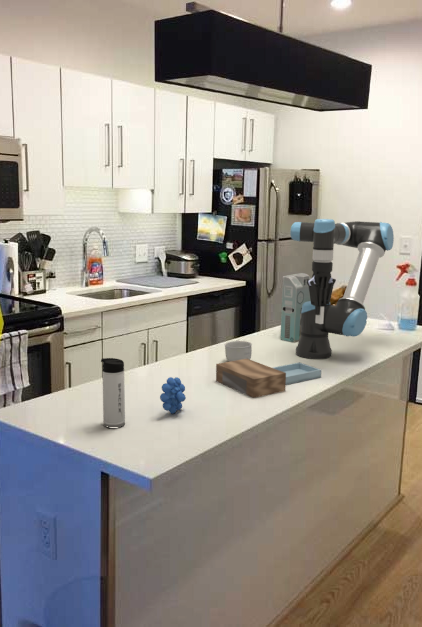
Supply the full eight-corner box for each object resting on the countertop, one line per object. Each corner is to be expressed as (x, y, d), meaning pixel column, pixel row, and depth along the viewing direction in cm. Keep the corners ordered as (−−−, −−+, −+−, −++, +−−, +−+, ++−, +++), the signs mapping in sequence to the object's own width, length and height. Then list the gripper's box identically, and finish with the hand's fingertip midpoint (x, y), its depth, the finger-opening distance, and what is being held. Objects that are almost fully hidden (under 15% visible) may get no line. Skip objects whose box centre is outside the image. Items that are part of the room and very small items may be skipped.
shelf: (246, 375, 234) (246, 358, 233) (285, 390, 216) (285, 373, 215) (216, 381, 226) (216, 363, 225) (253, 398, 208) (254, 379, 207)
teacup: (249, 367, 245) (249, 347, 243) (222, 365, 247) (222, 345, 246) (253, 358, 258) (254, 339, 257) (228, 356, 260) (228, 337, 259)
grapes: (172, 421, 186) (172, 383, 184) (155, 417, 190) (154, 379, 187) (195, 410, 195) (195, 374, 193) (177, 406, 199) (178, 370, 197)
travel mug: (103, 421, 186) (101, 356, 182) (125, 420, 186) (124, 356, 182) (101, 428, 180) (99, 362, 176) (124, 428, 180) (123, 361, 176)
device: (294, 342, 285) (296, 277, 280) (280, 340, 290) (282, 276, 284) (312, 336, 298) (315, 274, 292) (299, 334, 303) (301, 273, 297)
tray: (299, 369, 242) (299, 362, 242) (321, 377, 233) (321, 369, 232) (259, 377, 231) (259, 370, 231) (280, 386, 221) (280, 378, 221)
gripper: (327, 259, 238) (324, 319, 242) (302, 260, 231) (299, 323, 235) (342, 261, 232) (338, 323, 236) (316, 262, 224) (313, 326, 229)
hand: (319, 323), depth 236 cm, fingers closed
